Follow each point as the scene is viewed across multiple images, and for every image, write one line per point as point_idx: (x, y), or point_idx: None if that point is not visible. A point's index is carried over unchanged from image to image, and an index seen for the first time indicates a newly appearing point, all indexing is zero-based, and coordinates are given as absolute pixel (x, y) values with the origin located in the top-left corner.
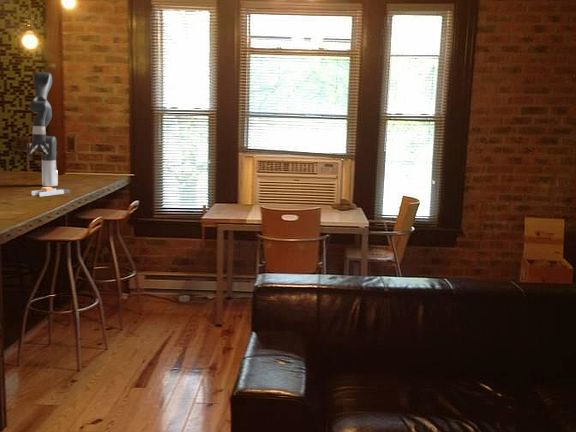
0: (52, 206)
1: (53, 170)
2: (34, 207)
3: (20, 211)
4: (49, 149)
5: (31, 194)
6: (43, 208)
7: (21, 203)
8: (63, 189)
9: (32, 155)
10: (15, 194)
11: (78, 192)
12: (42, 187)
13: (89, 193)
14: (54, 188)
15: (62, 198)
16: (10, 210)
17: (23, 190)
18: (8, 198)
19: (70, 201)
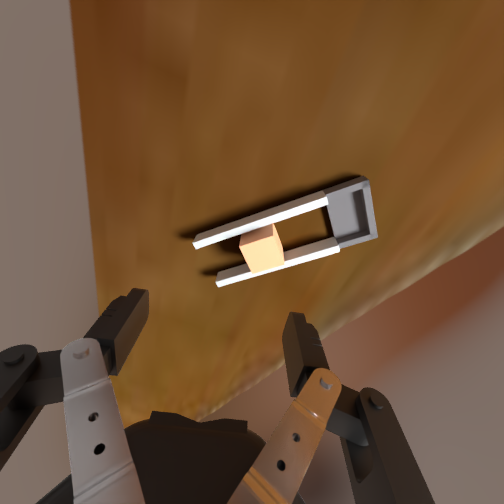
0: (213, 396)
1: None
2: (171, 392)
3: (138, 411)
4: (356, 488)
5: (196, 236)
6: (188, 404)
7: (146, 348)
8: (364, 203)
9: (126, 358)
10: (134, 176)
11: (417, 224)
12: (243, 248)
13: (434, 265)
14: (321, 200)
15: (281, 322)
16: (119, 399)
17: (189, 22)
18: (107, 264)
19: (279, 365)
